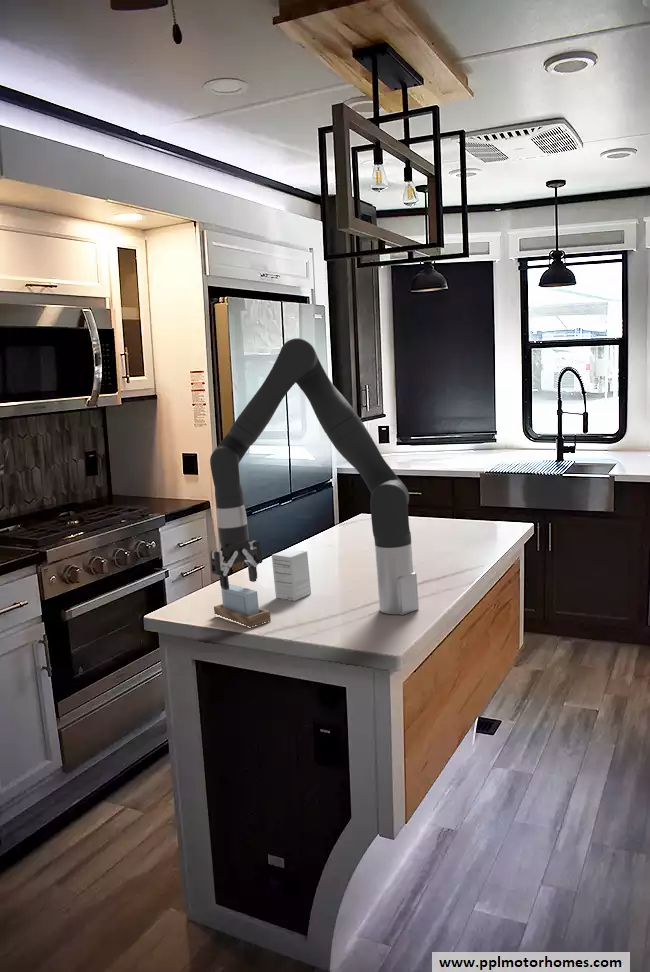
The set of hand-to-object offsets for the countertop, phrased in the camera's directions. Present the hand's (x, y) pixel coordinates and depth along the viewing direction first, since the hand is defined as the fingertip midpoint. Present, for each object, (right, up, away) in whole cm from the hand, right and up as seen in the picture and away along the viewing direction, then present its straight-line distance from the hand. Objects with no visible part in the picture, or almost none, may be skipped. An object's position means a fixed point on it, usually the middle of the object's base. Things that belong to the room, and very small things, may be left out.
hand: (239, 585), depth 207 cm
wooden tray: (+1, -9, +2) cm, 9 cm away
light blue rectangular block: (0, -8, +2) cm, 8 cm away
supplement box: (+13, -6, +19) cm, 24 cm away
